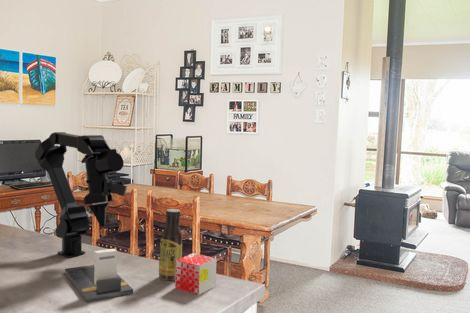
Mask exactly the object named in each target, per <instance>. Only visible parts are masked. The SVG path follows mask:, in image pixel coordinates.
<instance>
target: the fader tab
mask: <svg viewBox="0 0 470 313" xmlns="http://www.w3.org/2000/svg"><path fill="white" fill-rule="evenodd" d="M93 260H94V264H93V265H94V284H95V285H96V281H99V280H105V279H112V278H117V274H118V273H117V271H118V270H117V268H118V263H117V262H118V251H117V249H116V248H109V249H107V248H106V249H99V250H94V259H93Z"/></svg>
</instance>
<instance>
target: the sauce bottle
mask: <svg viewBox="0 0 470 313" xmlns="http://www.w3.org/2000/svg"><path fill="white" fill-rule="evenodd" d="M165 216H166V218H165V227H164V229H163V232H162V234H161V237H160V243H159V244H160V245H159V261H158V277H159V279H160V280H163V281H168V282H173V281H175V280H176V260H177V259H180V258H182V257H183V256H182V254H183V232H182V230H181V227H180V216H181V210H180V209H177V208H169V209H168V208H167V209H166V211H165Z"/></svg>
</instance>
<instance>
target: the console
mask: <svg viewBox="0 0 470 313" xmlns="http://www.w3.org/2000/svg"><path fill="white" fill-rule="evenodd" d="M64 274H65V275H66V277H67V278H68V279H69V281H70V282H71V283H72V285H73V286H74V287H75V289H76V290H77V292H78V293H79V294H80V296H81V297H82V298H83V299H84V301H85V302H86V303H87V302H93V301H98V300H99V301H100V300H103V299H110V298H111V299H112V298H115V297H116V298H118V297H121V296H127V295H134V288H132V287H131V286H130V285H129V284H128V282H126V281H125V280H124V279H123V278H122V277H121V276H120V275H119V274H118V273H117V278H112V279H105V280H99V281H96V285H95V284H94V264H90V265H84V266H83V265H82V266H76V267H68V268H67V267H66V268H64Z"/></svg>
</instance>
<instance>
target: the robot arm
mask: <svg viewBox="0 0 470 313" xmlns="http://www.w3.org/2000/svg"><path fill="white" fill-rule="evenodd" d="M67 147H69V148H74V149H76V150H77V152H79V153H82V155H84V157H83V158H82V160H81V161H80V163H81V164H85V171H86V172H85V173H86V179H85V180H86V184H87V188H88V193H87V194H86V195H85V196H84V197H83V203H84V204H83V205H79V204H78V203H77V202H76V199H75V197H74V194H73V190H72V189H71V186H70V183H69V181H68V178H67V175H66V173H65V171H64V168H63V164H64V163H65V162H64V161H65V154H66V152H67V151H68V149H67ZM34 156H35V159H36V161H37V162H38V165H39V166H40V167H41V169H43V170H44V171H46V172H47V174H48V177H49V179H50V182H51V184H52V188H53V191H54V193H55V195H56V199H57V202H58V204H59V207H60V210H61V211H60V213H59V223H58V225H57V227H56V228H55V229H54V231H55V237H57V238H60V239H61V250H59V251H57V254H58V255H61V256H64V257H66V258H71V257H75V256H76V257H77V256H79V255H84V254H86V251H84V250H82V248H83V247H82V246H83V245H82V243H83V242H82V235H88V230H89V226H90V219H89V215H88V213H87V210H86V207H85V205H88V208H89V209H90V211H91V212H92V214H93V215H94V218H96V219H95V220H97V222H98V224H99V226H100V227H101V228H104V227H105V226H106V220H107V219H106V218H107V212H108V211H107V210H108V207H110V205H111V204H112V202H114V195H113V194H116V195H118V196H123V197H125V196H126V192H127V187H128V186H127V185H125V184H124V182H123V181H117V182H116V183H114V182H110V181H109V178H108V177H107V174H111V173H117V172H119V171H121V170H122V169H123V168H124V164H125V163H124V162H125V161H124V159H123V157H122V155H121V154H120V153H118V152H117V148H111V147H110V145H109V144H108V142H107V141H106V139H105V137H104V136H103V135H99V134H96V135H95V134H93V135H92V134H90V135H88V134H87V135H86V134H85V135H78V134H71V133H67V132H65V131H64V132H63V131H59V132H56V131H55V132H52V133H51V134H50V135H49V137H48V138H46V139H44V140H43V141H42V142H40V143H39V145H38V146H37V148H36V149H35V152H34Z"/></svg>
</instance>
